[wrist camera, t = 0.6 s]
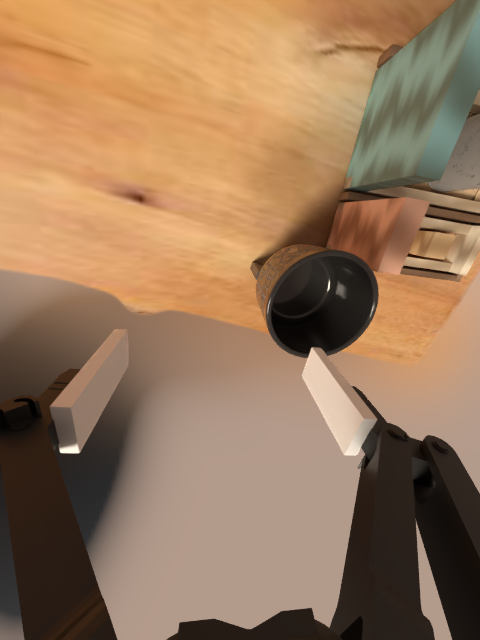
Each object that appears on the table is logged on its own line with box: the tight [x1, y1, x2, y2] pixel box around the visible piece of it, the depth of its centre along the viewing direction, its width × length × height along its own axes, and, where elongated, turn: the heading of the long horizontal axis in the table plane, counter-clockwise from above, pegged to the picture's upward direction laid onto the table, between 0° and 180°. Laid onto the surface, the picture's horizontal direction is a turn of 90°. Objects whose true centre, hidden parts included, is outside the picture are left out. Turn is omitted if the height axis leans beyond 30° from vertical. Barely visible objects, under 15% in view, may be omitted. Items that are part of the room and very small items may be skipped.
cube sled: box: [326, 197, 480, 275], centre depth 34 cm, size 8×26×14 cm, turn 82°
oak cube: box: [408, 231, 456, 260], centre depth 40 cm, size 4×4×4 cm
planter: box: [250, 244, 379, 358], centre depth 33 cm, size 13×13×18 cm
